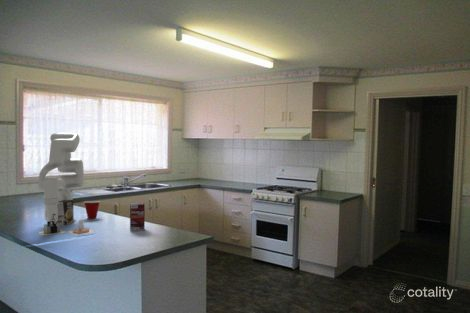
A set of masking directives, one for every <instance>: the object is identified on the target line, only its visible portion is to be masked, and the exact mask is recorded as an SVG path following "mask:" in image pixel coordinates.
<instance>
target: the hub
mask: <svg viewBox="0 0 470 313" xmlns="http://www.w3.org/2000/svg"><path fill="white" fill-rule="evenodd" d="M66 233H69V234H70V235H73V236H77V238H78V237H80V235H83V237H84V236H86V237H87V235H84V234H89V236H90V235H93V233H96V231H95V230H93V229H91V228H88V227H86V228H84V219H79V220H78V228H76V229H73V230H68V231H66ZM91 233H92V234H91Z"/></svg>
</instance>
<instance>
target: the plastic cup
mask: <svg viewBox="0 0 470 313" xmlns="http://www.w3.org/2000/svg"><path fill="white" fill-rule="evenodd" d="M83 203H84V207H85V212H86V216H87V219H88V218H89V219H90V220H92V219H93V220H94V219H97V218H98V212H99V207H100V203H101V201H100V200H87V201H83ZM89 219H88V220H89Z"/></svg>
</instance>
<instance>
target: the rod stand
mask: <svg viewBox="0 0 470 313" xmlns="http://www.w3.org/2000/svg"><path fill="white" fill-rule="evenodd" d="M52 223H53V222H52ZM50 226H51V222H50ZM65 233H67V231H65V230H64V229H61V228H60V232H59V233H53V234H46V233H44V230H42V231H38V234H40V235H41V236H43V237H45V236H52V235H58V234H65Z"/></svg>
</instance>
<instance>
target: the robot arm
mask: <svg viewBox="0 0 470 313" xmlns="http://www.w3.org/2000/svg"><path fill="white" fill-rule="evenodd" d="M49 139H50V149H49V157H48V162H47V163H46V164H45V165H44V166H43V167H42V169H41V170H40V172H39V174H38V183H37V184H38V185H37V186H38V190H40V191H41V192H43V202H44V203H43V204H44V220H45V221H46V224H50V222H51V233H57V220H58V207H57V204H58V203H59V201H62V200H73V201H74V198H73V197H74V196H73V193H72V192H71V191H70V189H71V190H72V189H81V188H83V187H84V184H85V183H84V182H85V178H84V177H85V176H84V175H85V174H84V162H83V160H82V159H81V158H72V153H75V152H76V151H77V148H78V147H79V144H80V142H81V141H80V140H81V139H80V135H79V134H78V133H73V132H72V133H71V132H67V133H66V132H56V133H52V134H51V135H50V138H49ZM54 169H57V171H58V172H59V173H65V174H60V175H59V174H58V176H56V177H55V178H54V177H53V178H52V177H51V178H50V177H49V178H46V176H47V174H48V173H49V172H51V171H53V170H54ZM66 173H67V174H66ZM69 173H71V174H69ZM72 173H73V174H72ZM76 220H77V219H76V218H75V217H74V222H76ZM52 222H53V223H52Z"/></svg>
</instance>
